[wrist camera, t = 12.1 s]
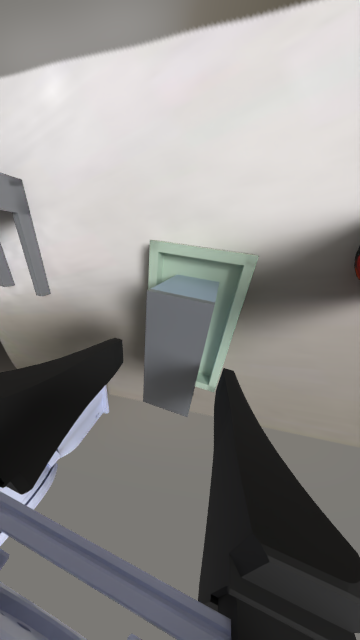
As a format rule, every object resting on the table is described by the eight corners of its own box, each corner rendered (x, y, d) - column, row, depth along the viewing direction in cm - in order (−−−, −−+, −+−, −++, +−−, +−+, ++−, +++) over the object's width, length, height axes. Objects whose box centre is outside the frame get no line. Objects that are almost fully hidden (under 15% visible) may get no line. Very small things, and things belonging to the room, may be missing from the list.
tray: (215, 379, 20) (214, 392, 18) (151, 360, 21) (145, 370, 19) (254, 254, 13) (258, 255, 11) (159, 240, 15) (149, 239, 13)
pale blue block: (198, 369, 19) (186, 421, 13) (167, 360, 20) (142, 406, 14) (219, 282, 14) (214, 305, 8) (177, 274, 15) (146, 290, 9)
